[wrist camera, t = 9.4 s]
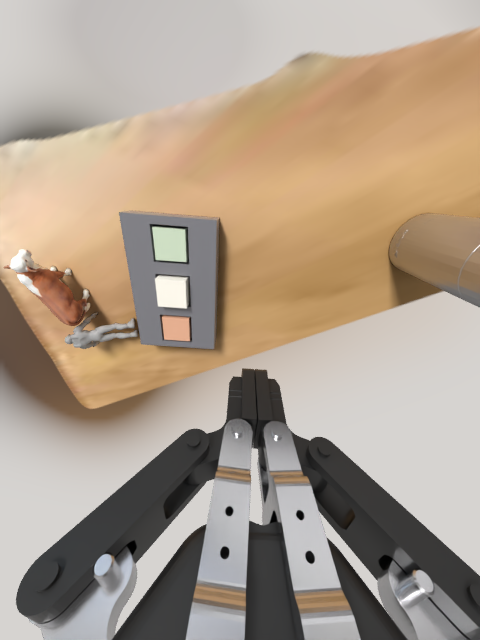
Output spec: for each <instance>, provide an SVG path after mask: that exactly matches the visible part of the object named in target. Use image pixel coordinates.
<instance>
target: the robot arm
mask: <svg viewBox="0 0 480 640" xmlns="http://www.w3.org/2000/svg"><path fill="white" fill-rule="evenodd" d="M389 256H390V260H391V262H392V264H393V265H394V266H395V267H396V268H398V269H400V270H402V271H404V272H406V273H408V274H410V275H412V276H414V277H416V278H418V279H420V280H423V281H425V282H427V283H429V284H431V285H433V286H435V287H437V288H439V289H442V290H444V291H446V292H448V293H450V294H452V295H454V296H457V297H458V298H461V299H463V300H465V301H467V302H469V303H471V304H474V305H476V306H478V307H480V218H475V217H464V216H454V215H444V214H433V213H427V214H421V215H418V216H415V217H414V218H412V219H410V220H408V221H407V222H406V223H404V224H403V225H402V226H401V227H400V228H399V229H398V231H397V232H396V234H395V235H394V237H393V239H392V241H391V244H390V247H389ZM252 447H253V448H257V449H258V455H259V457H258V472H259V480H260V489H261V498H262V507H263V508H262V509H263V512H262V522H263V525H259V524H256V523H254V522H251V521H249V510H250V490H251V475H250V469H251V449H252ZM212 479H215V480H214V486H213V492H212V497H211V503H210V509H209V514H208V520H207V524H206V525H204V526H201V527H200V528H198V529H197V530H195V531H194V532H193V533H192V534H191V535H190V536H189V537H188V538H187V539H186V540H185V541H184V542H183V544H182V545H181V546H180V548H179V549H178V550H177V552H176V553H175V554H174V556H173V557H172V558H171V560H170V561H169V562H168V564H167V565H166V567H165V568H164V569H163V571H162V572H161V573H160V575H159V576H158V578H157V579H156V580H155V581H154V583H153V584H152V586H151V587H150V588H149V590H148V591H147V592H146V594H145V595H144V596H143V598H142V599H141V600H140V602H139V603H138V605H137V606H136V607H135V609H134V610H133V611H132V613H131V614H130V616H129V617H128V618H127V620H126V621H125V623H124V624H123V625H122V626H121V628H120V629H119V630H118V632H117V633H116V635H115V628H116V624H117V621H118V618H119V616H120V613H121V611H122V609H123V607H124V606H125V605H126V603H127V601H128V600H129V598H130V597H131V595H132V593H133V590H134V588H135V584H136V579H137V568H136V562H137V561H138V560H139V559H140V558H141V557H142V556H143V554H144V553H145V552H146V551H147V550H148V549H149V548H150V546H151V545H152V544H153V543H154V542H155V541H156V540H157V538H158V537H159V536H160V535H161V534H162V533H163V532H164V530H165V529H166V528H167V527H168V526H169V525H170V524H171V522H172V521H173V520H174V519H175V518H176V517H177V516H178V514H179V513H180V512H181V511H182V510H183V509H184V508H185V506H186V505H187V504H188V503H189V502H190V501H191V499H192V498H193V497H194V496H195V495H196V494H197V493H198V491H199V490H200V489H201V488H202V487H203V486H204V485H205V483H206V482H207V481H209V480H212ZM318 510H319V511H318ZM319 512H320V513H321V514H322V515H323V516H324V518H325V519H326V520H327V521H328V522H329V524H330V525H331V526H332V527H333V528H334V530H335V531H336V532H337V533H338V534H339V535H340V537H341V538H342V539H343V540H344V541H345V543H346V544H347V545H348V546H349V547H350V548H351V550H352V551H353V552H354V553H355V555H356V556H357V557H358V558H359V559H360V561H361V562H362V563H363V564H364V565H365V566H366V568H367V569H368V570H369V571H370V572H371V574H372V575H373V576H374V577H375V578H376V580H377V581H378V590H379V595H380V598H381V600H382V603H383V605H384V608H385V609H386V610H385V609H384V608H383V607H382V605H381V604H380V603H379V601H378V600H377V599H376V598H375V596H374V595H373V593H372V592H371V591H370V590H369V588H368V587H367V586H366V584H365V583H364V582H363V580H362V579H361V578H360V577H359V575H358V574H357V573H356V572H355V570H354V569H353V567H352V566H351V565H350V563H349V562H348V561H347V560H346V558H345V557H344V556H343V554H342V553H341V552H340V551H339V549H338V548H337V547H336V546H335V545H334V544H333V543H332V542H331V541H330V540H329V539H328V538H327V537H326V535H325V531H324V528H323V524H322V521H321V518H320V514H319ZM16 604H17V608H18V610H19V612H20V613H21V614H22V615H24V616H26V617H27V618H28V619H29V621H30V622H31V623H33V624H34V625H36V626H38V627H39V628H41V631H42V635H43V638H44V640H480V576H479V575H478V574H477V573H476V572H474V570H473V569H471V568H470V567H469V566H468V565H467V564H466V563H465V562H464V561H462V560H461V559H460V558H459V557H458V556H457V555H456V554H455V553H454V552H453V551H451V550H450V549H449V548H448V547H447V546H446V545H445V544H444V543H443V542H441V541H440V540H439V539H438V538H437V537H436V536H435V535H434V534H433V533H432V532H430V531H429V530H428V529H427V528H426V527H425V526H424V525H423V524H422V523H421V522H419V521H418V520H417V519H416V518H415V517H414V516H413V515H412V514H410V513H409V512H408V511H407V510H406V509H405V508H404V507H403V506H402V505H401V504H399V503H398V502H397V501H396V500H395V499H394V498H393V497H392V496H390V494H388V493H387V492H386V491H385V490H384V489H383V488H382V487H381V486H379V485H378V484H377V483H376V482H375V481H374V480H373V479H371V477H370V476H368V475H367V474H366V473H365V472H364V471H363V470H362V469H361V468H360V467H359V466H357V465H356V464H355V463H354V462H353V461H352V460H351V459H350V458H348V457H347V456H346V455H345V454H344V453H343V452H342V451H341V450H340V449H339V448H338V447H336V446H335V445H334V444H333V443H332V442H331V441H329V440H327V439H325V438H323V437H315V438H313V439H311V441H309V440H307V439H304V438H301V437H299V436H297V435H295V434H294V433H292V431H291V430H290V429H289V428H288V426H287V424H286V419H285V414H284V408H283V403H282V397H281V392H280V386H279V385H278V383H277V382H276V380H275V379H268V377H267V370H258V369H255V370H254V369H242V377H233V378H232V380H231V381H230V383H229V396H228V409H227V419H226V423H225V424H224V426H223V427H222V428H221V429H219V430H217V431H215V432H212V433H208V434H206V433H205V432H204V431H202V430H200V429H191V430H188V431H186V432H185V433H184V434H182V435H181V436H180V437H179V438H178V439H177V440H175V441H174V442H173V443H172V444H171V445H170V446H169V447H167V448H166V449H165V450H164V451H163V452H161V453H160V454H159V455H158V456H157V457H156V458H155V459H153V460H152V461H151V462H150V463H149V464H148V465H146V466H145V467H144V468H143V469H142V470H140V471H139V472H138V473H137V474H136V475H135V476H134V477H133V478H131V479H130V480H129V481H128V482H126V483H125V484H124V485H123V486H122V487H121V488H120V489H118V490H117V491H116V492H115V493H114V494H112V495H111V496H110V497H109V498H108V499H107V500H105V501H104V502H103V503H102V504H101V505H100V506H99V507H97V508H96V509H95V510H94V511H93V512H92V513H90V514H89V515H88V516H87V517H86V518H84V519H83V520H82V521H81V522H80V523H79V524H77V525H76V526H75V527H74V528H73V529H72V530H71V531H69V532H68V533H67V534H66V535H65V536H63V537H62V538H61V539H60V540H59V541H58V542H57V543H55V544H54V545H53V546H52V547H51V548H50V549H48V550H47V551H46V552H45V553H44V554H42V555H41V556H40V557H39V558H38V559H37V560H36V561H35V562H34V563H33V564H32V566H31V567H30V568H29V569H28V571H27V573H26V574H25V575H24V577H23V579H22V581H21V583H20V586H19V589H18V592H17V597H16ZM386 611H387V612H388V613H389V614H388V613H387V612H386ZM389 615H390V616H391V617H390V616H389ZM392 619H393V620H392ZM114 635H115V636H114Z"/></svg>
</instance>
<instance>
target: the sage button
mask: <svg viewBox="0 0 480 640" xmlns="http://www.w3.org/2000/svg"><path fill="white" fill-rule="evenodd" d="M152 230H153V239H154V248H155V258H156V260H164V261H177V262H187V261H188V260H189V242H188V227H182V226H169V225H157V226H154V227H152Z"/></svg>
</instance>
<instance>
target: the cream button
mask: <svg viewBox="0 0 480 640" xmlns="http://www.w3.org/2000/svg"><path fill="white" fill-rule="evenodd" d="M155 284H156V293H157V302H158V307H172V308H186V309H187V307H188V305H189V303H190V277H189V276H180V275H166V274H160V275H159V276H158V277H156V278H155Z"/></svg>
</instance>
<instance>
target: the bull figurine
mask: <svg viewBox="0 0 480 640" xmlns="http://www.w3.org/2000/svg"><path fill="white" fill-rule="evenodd" d="M31 255H32V254H31V252H30V251H28V250H25V249H20V250H19V254H18V255H16V256H15V257H14V258H12V260H11V265H7V266H5V267H4V268H8V269H13V270H15V271H16V273H17V276H18V279H19V280H20V282H22V283H23V284H24V285H25V286H26V287H27V288H28V289H29V290H30V291H31V292H32V293H33V294H35V295H36V296H37V297H38V298H39V299H40V300H41V301H42V302H43V303H44V304H45V305H46V306H47V307H48V308H49V309H50V311H51V312H52V313H53V314H54V315H55V316H56V317H57V318H58V319H59V320H60V321H61V322H63V323H65V324H67V325H70V326H75V325H78V324H79V323H80V322H81V321H82V320H83V318H84V315H85V314H86V312H87V311H88V310H89V308H90V303H87V299H88V297H89V296H90V295H89V290H88V289H84V290H83V298H82V299H81V300H79V301H75V300H74V298H73V294H72V291H71V290H70V288H69V287H68V286H67V285H65V284H64V283H62V282H61V281H60V280H59V279H60V278H61V277H64V276H68V275H72V274H71V272H72V271H71V269H70V268H66V270H65V272H61V271H59V272H57V271H56V270H57V268H56V267H55V266H51V269H50V270H49V269H47V268H44V267H42V266H40V265H39V264H35V263H34V261H33V260H32V259H31ZM83 310H84V312H83ZM82 313H83V314H82ZM80 317H81V318H80ZM79 319H80V320H79ZM78 320H79V321H78Z"/></svg>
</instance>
